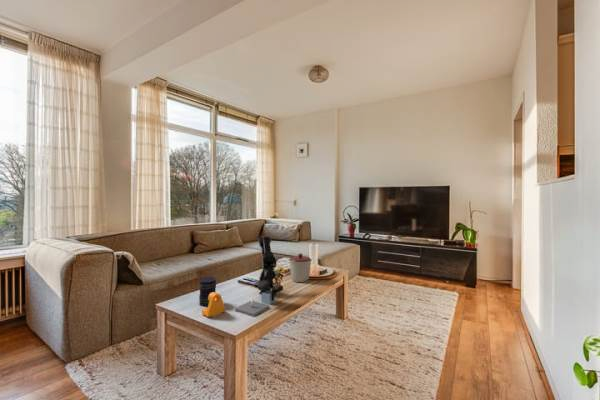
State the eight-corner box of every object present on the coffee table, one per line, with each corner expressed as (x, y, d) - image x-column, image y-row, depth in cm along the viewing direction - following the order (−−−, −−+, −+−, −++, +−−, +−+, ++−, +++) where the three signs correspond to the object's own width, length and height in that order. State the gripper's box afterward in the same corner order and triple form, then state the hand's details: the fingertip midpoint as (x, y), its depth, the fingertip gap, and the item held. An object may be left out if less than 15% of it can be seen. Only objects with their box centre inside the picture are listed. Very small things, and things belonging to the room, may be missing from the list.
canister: (302, 275, 234) (303, 250, 233) (316, 281, 219) (316, 254, 218) (284, 279, 224) (284, 252, 223) (296, 285, 209) (297, 257, 208)
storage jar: (198, 307, 168) (198, 282, 168) (199, 301, 177) (199, 277, 177) (215, 305, 171) (216, 281, 170) (216, 299, 180) (216, 276, 180)
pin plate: (235, 310, 163) (235, 301, 163) (251, 302, 175) (251, 294, 175) (253, 316, 156) (253, 306, 156) (269, 308, 168) (269, 298, 168)
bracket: (218, 308, 166) (218, 288, 166) (225, 312, 162) (225, 291, 161) (201, 314, 158) (201, 293, 158) (208, 318, 154) (208, 296, 153)
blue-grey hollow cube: (261, 302, 176) (261, 293, 176) (267, 299, 181) (267, 290, 181) (269, 304, 173) (269, 294, 173) (275, 301, 178) (275, 292, 178)
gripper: (248, 276, 175) (248, 301, 175) (272, 281, 165) (272, 307, 166) (260, 271, 184) (259, 295, 185) (283, 276, 175) (283, 301, 175)
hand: (268, 299), depth 177 cm, fingers closed on blue-grey hollow cube, 6 cm apart
